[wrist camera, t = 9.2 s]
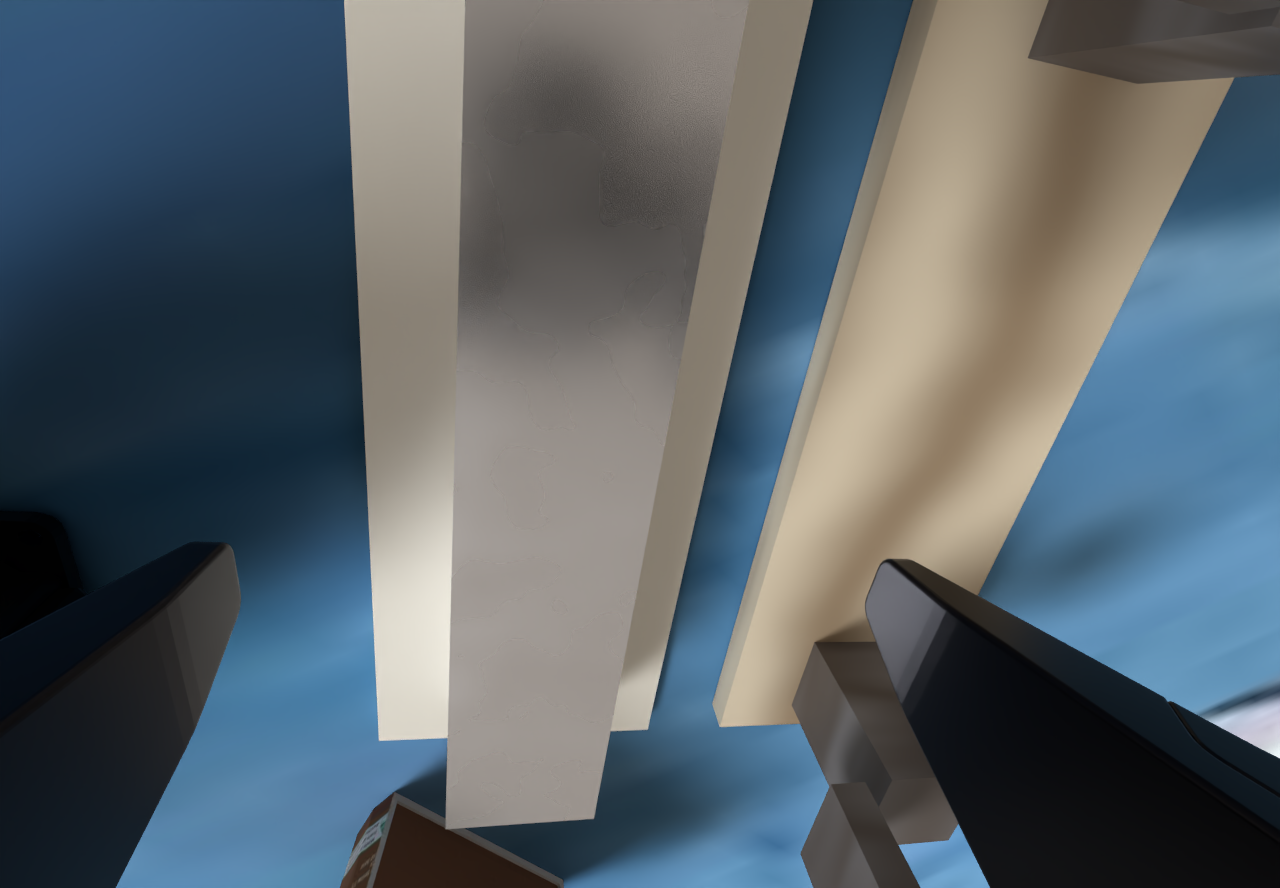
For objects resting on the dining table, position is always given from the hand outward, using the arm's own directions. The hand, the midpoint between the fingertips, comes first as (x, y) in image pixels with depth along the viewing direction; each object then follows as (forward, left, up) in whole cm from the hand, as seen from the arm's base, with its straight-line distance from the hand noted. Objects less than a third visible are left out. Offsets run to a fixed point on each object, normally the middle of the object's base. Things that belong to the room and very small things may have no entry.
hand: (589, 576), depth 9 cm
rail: (0, 0, -8) cm, 8 cm away
